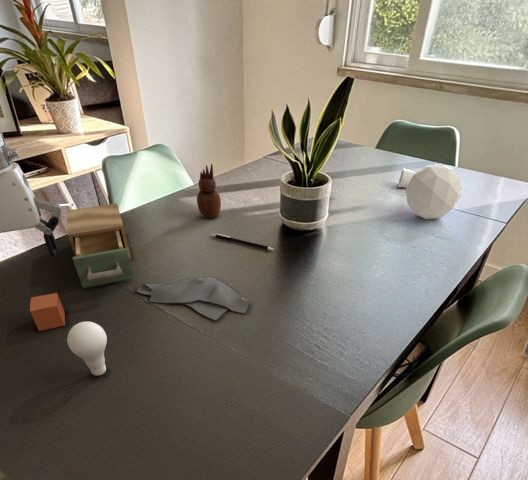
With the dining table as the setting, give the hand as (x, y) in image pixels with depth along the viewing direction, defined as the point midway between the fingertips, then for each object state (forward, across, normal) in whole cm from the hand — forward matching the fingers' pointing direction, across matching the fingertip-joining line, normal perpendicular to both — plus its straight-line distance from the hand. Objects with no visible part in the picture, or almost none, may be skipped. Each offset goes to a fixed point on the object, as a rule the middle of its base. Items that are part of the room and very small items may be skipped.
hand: (25, 257), depth 78 cm
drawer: (+14, -12, -14) cm, 23 cm away
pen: (+15, -47, -18) cm, 53 cm away
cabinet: (+15, -12, -28) cm, 34 cm away
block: (+15, 0, 0) cm, 15 cm away
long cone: (+16, -116, -32) cm, 122 cm away
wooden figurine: (+15, -44, -38) cm, 60 cm away
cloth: (+15, -30, +1) cm, 34 cm away
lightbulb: (+15, -8, +19) cm, 26 cm away
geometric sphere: (+16, -103, -15) cm, 105 cm away
